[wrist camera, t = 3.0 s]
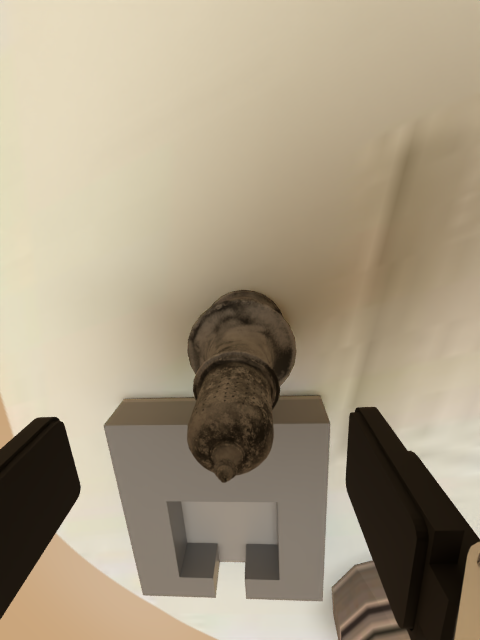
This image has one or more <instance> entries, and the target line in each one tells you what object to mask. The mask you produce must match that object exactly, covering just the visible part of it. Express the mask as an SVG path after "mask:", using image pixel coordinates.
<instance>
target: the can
mask: <svg viewBox="0 0 480 640" xmlns="http://www.w3.org/2000/svg"><path fill="white" fill-rule="evenodd" d="M332 599H333V614H334V620H335V625H336V630H337V635H338V640H411V639H410V637H409V634H408V632H407V629H401V628H400V627H399V626H398V624H397V622H396V620H395V617H394V615H393V612H392V609H391V607H390V604H389V601H388V599H387V596H386V593H385V591H384V588H383V585H382V583H381V580H380V577H379V575H378V572H377V569H376V567H375V564H374V561H369V562H365V563H361V564H357V565H354V566H353V567H352V568H351V569H350V570H349V571H348V572H347V573H346V574H345V575H344V576H343V577H342V578H341V579H340V580H339V581H338V582H337V583H336V584H335V585H334V586H333V587H332Z"/></svg>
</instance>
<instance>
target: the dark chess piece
mask: <svg viewBox="0 0 480 640" xmlns="http://www.w3.org/2000/svg"><path fill="white" fill-rule="evenodd" d="M188 357H189V361H190V365H191V367H192V369H193V371H194V372H195V374H196V376H195V379H194V384H193V392H194V396H195V400H196V403H195V406H194V409H193V412H192V415H191V417H190V420H189V423H188V429H187V442H188V446H189V450H190V451H191V453H192V455H193V456H194V458H195V459H196V460H197V462H199V463H200V464H201V465H202V466H203V467H204V468H206V469H207V470H209V471H211V472H213V473H214V474H215V475H216V476H217V477H218V479H219V480H221V482H222V483H226V482H227V481H230V480H231V479H232V478H234V477H235V476H236V475H241V474H245V473H248V472H250V471H251V470H253V469H255V468H256V467H258V466H259V465H260V464H261V463H262V462H263V461H264V460H265V459H266V458H267V457H268V455H269V453H270V451H271V448H272V444H273V438H274V428H273V414H272V410H273V409H274V408H275V406H276V404H277V402H278V399H279V393H280V385H281V384H282V383H283V382H284V381H285V380H286V379H287V377H288V376H289V374H290V372H291V370H292V368H293V366H294V363H295V357H296V345H295V338H294V335H293V333H292V331H291V328H290V326H289V324H288V323H287V322H286V321H285V319H284V318H283V316H282V314H281V312H280V310H279V308H278V307H277V306H276V305H275V303H274V302H273V301H272V300H270V299H269V298H267V297H266V296H265V295H262V294H260V293H257V292H254V291H246V290H241V291H234V292H231V293H228V294H226V295H224V296H222V297H221V298H219V299H218V300H217V301H216V302H214V304H213V305H212V306H211V307H210V308H209V309H208V310H207V311H205V312H204V313H203V314H202V315H201V316H200V317H199V318H198V320H197V321H196V323H195V324H194V325H193V327H192V330H191V333H190V336H189V339H188Z"/></svg>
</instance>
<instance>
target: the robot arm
mask: <svg viewBox="0 0 480 640" xmlns="http://www.w3.org/2000/svg"><path fill="white" fill-rule="evenodd" d="M80 488H81V487H80V482H79V478H78V474H77V471H76V467H75V463H74V459H73V456H72V452H71V448H70V444H69V441H68V437H67V433H66V429H65V426H64V423H63V422H61V421H60V420H59V419H58V418H57V417H40V418H36V419H34V420H33V421H32V422H31V423H30V424H29V425H27V426H26V427H25V428H24V429H23V430H22V431H21V432H19V433H18V434H17V435H16V436H15V437H14V438H13V439H12V440H11V441H9V442H8V443H7V444H6V445H5V446H4V447H2V448H1V449H0V619H1V618H2V616H3V615H4V613H5V611H6V610H7V608H8V607H9V605H10V603H11V602H12V600H13V599H14V597H15V596H16V594H17V592H18V591H19V589H20V588H21V586H22V585H23V583H24V582H25V580H26V579H27V577H28V575H29V574H30V572H31V571H32V569H33V568H34V566H35V564H36V563H37V561H38V560H39V558H40V557H41V555H42V553H43V552H44V550H45V549H46V547H47V546H48V544H49V542H50V541H51V539H52V538H53V536H54V535H55V533H56V532H57V530H58V528H59V527H60V525H61V524H62V522H63V521H64V519H65V517H66V516H67V514H68V513H69V511H70V510H71V508H72V507H73V505H74V503H75V502H76V500H77V499H78V497H79V494H80ZM346 488H347V492H348V495H349V498H350V500H351V503H352V506H353V508H354V511H355V514H356V516H357V519H358V522H359V524H360V527H361V530H362V532H363V535H364V537H365V540H366V543H367V545H368V548H369V551H370V553H371V556H372V559H373V561H374V564H375V567H376V569H377V572H378V575H379V577H380V580H381V583H382V585H383V588H384V591H385V593H386V596H387V599H388V601H389V604H390V607H391V609H392V612H393V615H394V617H395V620H396V622H397V624H398V626H399V627H400V628H401V629H407V632H408V634H409V637H410V639H411V640H480V539H479V538H478V536H477V535H476V534H475V532H474V531H473V530H472V528H471V527H470V526H469V524H468V523H467V522H466V520H465V519H464V518H463V516H462V515H461V514H460V512H459V511H458V509H457V508H456V507H455V505H454V504H453V503H452V501H451V500H450V499H449V497H448V496H447V495H446V493H445V492H444V491H443V489H442V488H441V487H440V485H439V484H438V483H437V481H436V480H435V479H434V477H433V476H432V475H431V473H430V472H429V471H428V469H427V468H426V467H425V465H424V464H423V463H422V461H421V460H420V459H419V457H418V456H417V455H416V454H415V453H414V452H412V451H407V449H406V448H405V447H404V445H403V444H402V442H401V441H400V440H399V438H398V437H397V435H396V434H395V433H394V431H393V430H392V428H391V427H390V426H389V424H388V423H387V422H386V420H385V419H384V417H383V416H382V415H381V413H380V412H379V410H378V409H377V408H376V407H360V408H356V410H355V412H352V413H350V416H349V432H348V449H347V466H346Z"/></svg>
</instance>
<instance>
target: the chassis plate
mask: <svg viewBox="0 0 480 640" xmlns="http://www.w3.org/2000/svg"><path fill="white" fill-rule="evenodd" d="M195 403H196V400H195V398H150V399H124V400H123V401H122V402H121V404H120V405H119V406H118V408H117V409H116V410H115V412H114V413H113V414H112V415H111V417H110V418H109V419H108V421H107V422H106V423H105V425H104V429H105V434H106V438H107V442H108V446H109V451H110V455H111V459H112V464H113V468H114V472H115V476H116V481H117V485H118V489H119V494H120V498H121V502H122V506H123V511H124V515H125V519H126V524H127V528H128V532H129V536H130V541H131V545H132V549H133V554H134V558H135V562H136V566H137V571H138V575H139V579H140V584H141V588H142V592H143V595H150V596H180V597H210V598H216V590H217V581H218V572H219V563H220V562H245V588H246V599H269V600H299V601H323V578H324V555H325V531H326V508H327V485H328V462H329V439H330V422H329V419H328V416H327V413H326V411H325V408H324V405H323V402H322V399H321V397H320V396H279V399H278V402H277V404H276V406H275V408H274V409H273V410H272V414H273V428H274V438H273V444H272V448H271V451H270V453H269V455H268V457H267V458H266V459H265V460H264V461H263V462H262V463H261V464H260V465H259V466H258V467H256V468H255V469H253V470H251V471H250V472H248V473H245V474H241V475H236V476H235V477H234V478H232V479H231V480H230V481H227V482H226V483H222V482H221V480H219V479H218V477H217V476H216V475H215V474H214V473H213V472H211V471H209V470H207V469H206V468H204V467H203V466H202V465H201V464H200V463H199V462H197V460H196V459H195V458H194V456H193V455H192V453H191V451H190V450H189V446H188V442H187V429H188V423H189V420H190V417H191V415H192V412H193V409H194V406H195Z"/></svg>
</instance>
